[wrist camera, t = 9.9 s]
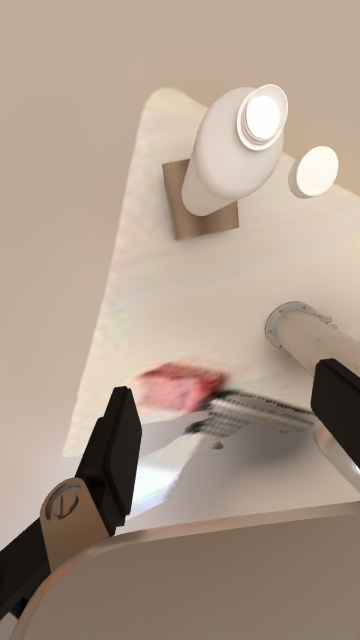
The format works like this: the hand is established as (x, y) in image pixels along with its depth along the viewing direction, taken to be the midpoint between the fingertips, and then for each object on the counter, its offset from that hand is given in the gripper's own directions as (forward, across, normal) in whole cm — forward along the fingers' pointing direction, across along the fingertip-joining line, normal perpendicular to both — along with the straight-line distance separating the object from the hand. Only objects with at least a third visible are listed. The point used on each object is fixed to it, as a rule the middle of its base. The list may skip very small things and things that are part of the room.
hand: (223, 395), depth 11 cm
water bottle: (+31, -5, -12) cm, 34 cm away
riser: (+39, -4, -13) cm, 41 cm away
